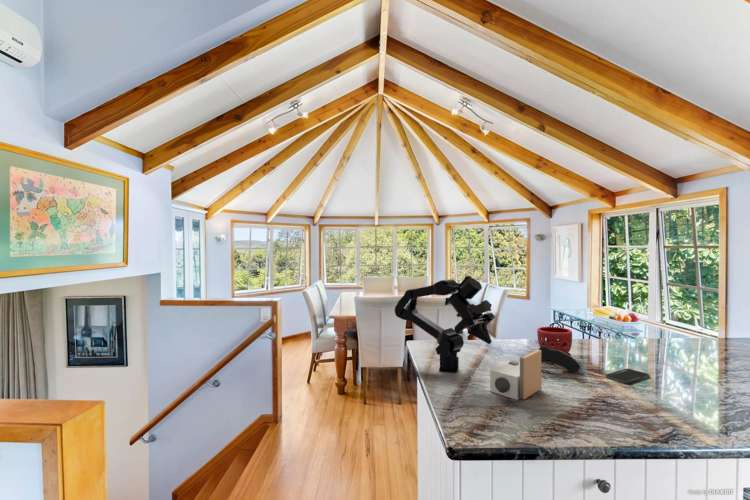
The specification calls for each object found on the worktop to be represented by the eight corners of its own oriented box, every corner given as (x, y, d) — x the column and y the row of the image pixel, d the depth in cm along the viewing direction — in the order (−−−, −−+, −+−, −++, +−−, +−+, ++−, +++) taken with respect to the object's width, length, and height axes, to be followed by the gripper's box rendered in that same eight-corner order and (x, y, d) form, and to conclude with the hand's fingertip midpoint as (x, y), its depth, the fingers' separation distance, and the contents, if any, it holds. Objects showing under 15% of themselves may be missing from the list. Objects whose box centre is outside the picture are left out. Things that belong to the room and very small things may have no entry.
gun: (572, 388, 132) (586, 365, 131) (531, 365, 135) (544, 342, 134) (570, 385, 135) (583, 362, 134) (529, 363, 137) (542, 340, 136)
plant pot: (573, 355, 152) (573, 327, 152) (570, 364, 141) (570, 334, 141) (539, 351, 159) (539, 324, 159) (535, 359, 148) (535, 330, 148)
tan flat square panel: (519, 398, 109) (519, 357, 109) (536, 387, 118) (536, 349, 118) (523, 399, 108) (523, 358, 108) (541, 388, 117) (541, 350, 117)
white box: (488, 392, 115) (488, 368, 115) (510, 379, 125) (510, 358, 125) (515, 401, 109) (515, 376, 108) (536, 387, 119) (536, 364, 119)
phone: (604, 375, 127) (627, 368, 134) (604, 378, 127) (627, 371, 134) (628, 382, 120) (651, 374, 127) (628, 386, 120) (651, 377, 128)
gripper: (461, 296, 121) (491, 334, 113) (490, 290, 133) (519, 325, 125) (442, 315, 127) (469, 353, 119) (471, 309, 139) (498, 343, 131)
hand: (490, 343), depth 123 cm, fingers closed
